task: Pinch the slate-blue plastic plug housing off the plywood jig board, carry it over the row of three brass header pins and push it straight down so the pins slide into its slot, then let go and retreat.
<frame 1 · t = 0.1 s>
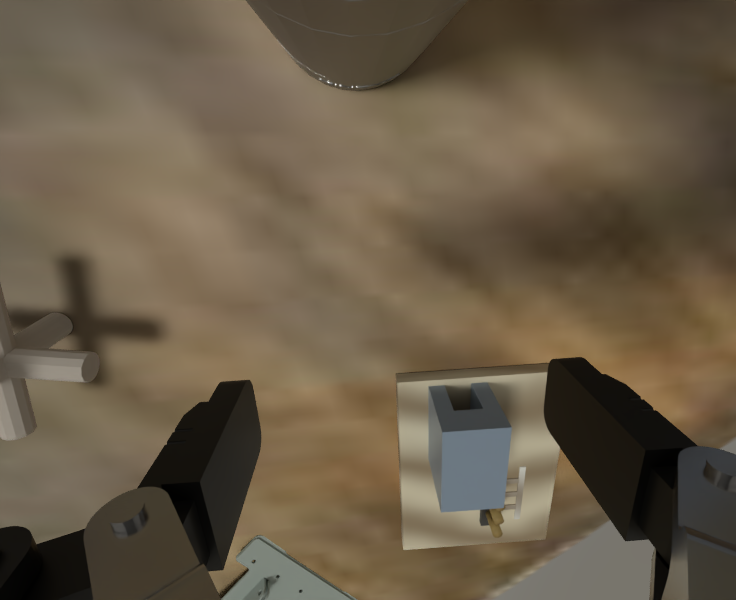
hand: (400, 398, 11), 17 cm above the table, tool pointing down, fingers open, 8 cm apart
plug housing: (456, 422, 31), point 1 cm above the table, touching jig board
grey cross-shaped piece: (60, 322, 29), on the table
metal bracket: (273, 595, 41), on the table
jig board: (475, 458, 34), on the table
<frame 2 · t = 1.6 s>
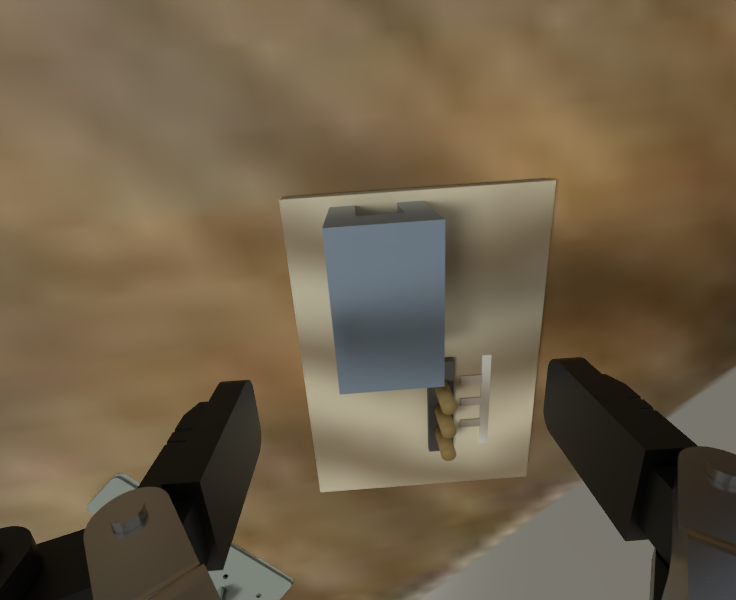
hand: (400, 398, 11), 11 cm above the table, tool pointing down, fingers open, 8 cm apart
plug housing: (380, 274, 20), point 1 cm above the table, touching jig board
metal bracket: (163, 566, 30), on the table
jig board: (417, 348, 23), on the table
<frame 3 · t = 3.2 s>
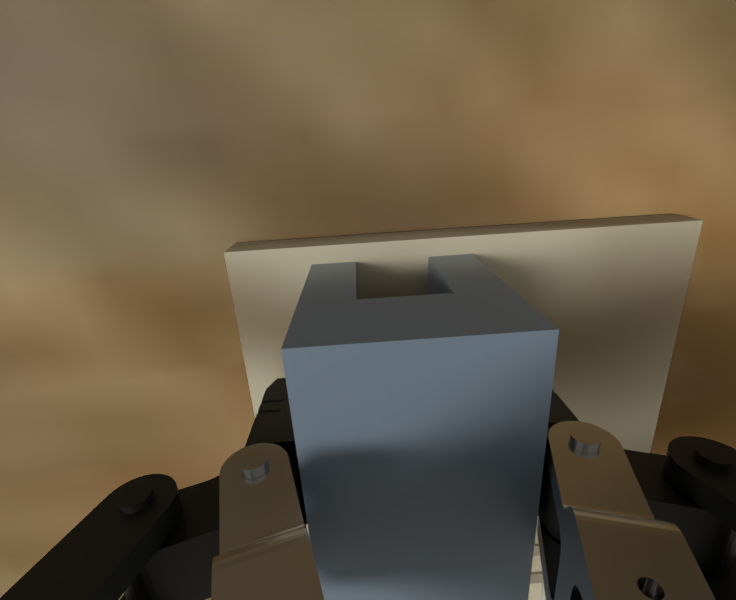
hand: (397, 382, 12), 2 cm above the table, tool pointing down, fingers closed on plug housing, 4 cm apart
plug housing: (396, 370, 12), point 1 cm above the table, touching gripper, jig board
jig board: (451, 467, 15), on the table
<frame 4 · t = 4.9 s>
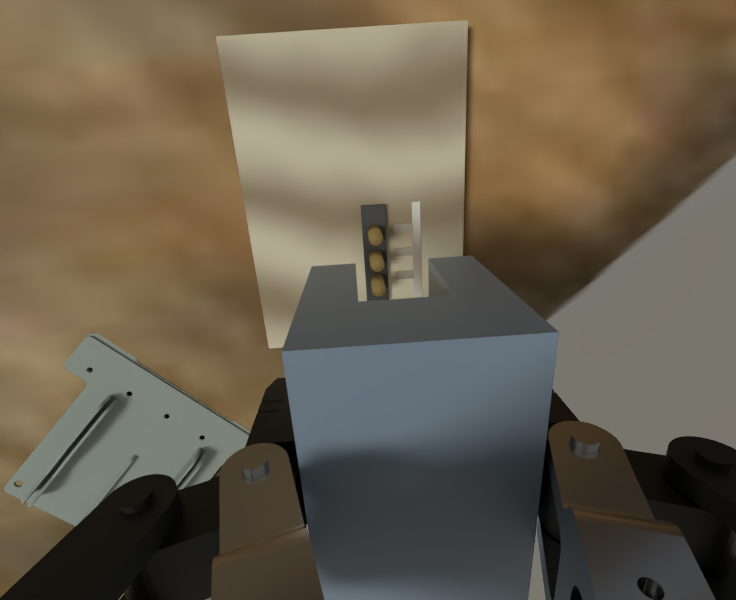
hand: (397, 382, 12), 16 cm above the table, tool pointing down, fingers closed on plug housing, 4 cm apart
plug housing: (396, 372, 12), point 15 cm above the table, touching gripper
metal bracket: (145, 439, 32), on the table
jig board: (355, 203, 25), on the table
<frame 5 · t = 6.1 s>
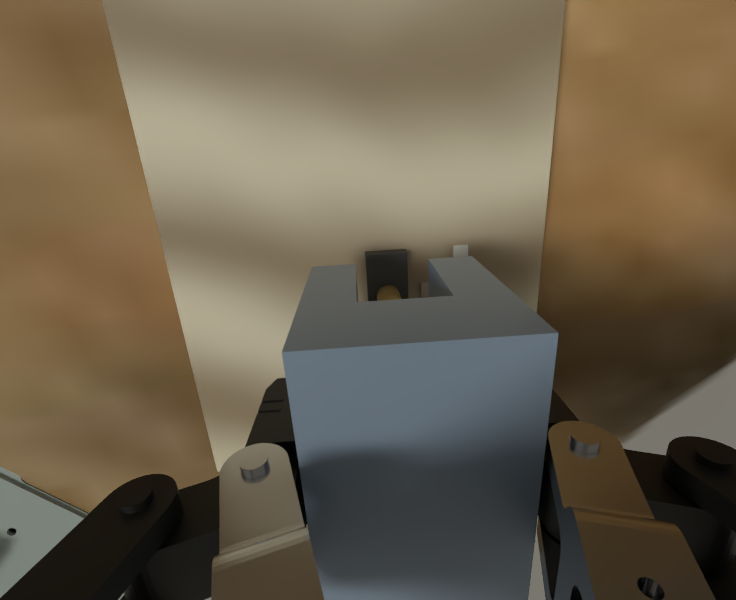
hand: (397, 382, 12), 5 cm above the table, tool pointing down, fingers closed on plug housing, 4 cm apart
plug housing: (396, 372, 12), point 4 cm above the table, touching gripper
metal bracket: (55, 578, 22), on the table
jig board: (355, 244, 15), on the table
when the fingers open (3 cm above the table, at t = 6.8 s): plug housing stays where it is, resting on jig board.
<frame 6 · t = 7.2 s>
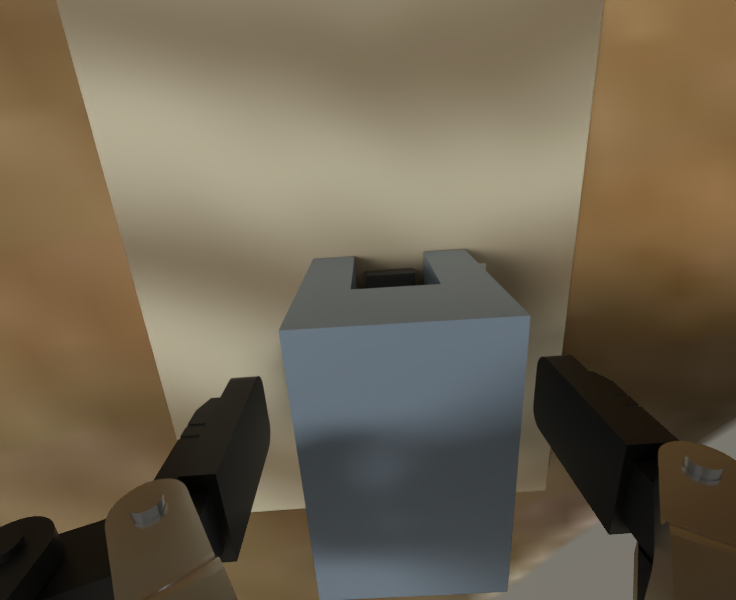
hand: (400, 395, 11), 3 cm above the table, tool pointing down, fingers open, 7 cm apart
plug housing: (393, 360, 13), point 1 cm above the table, touching jig board
jig board: (355, 261, 13), on the table
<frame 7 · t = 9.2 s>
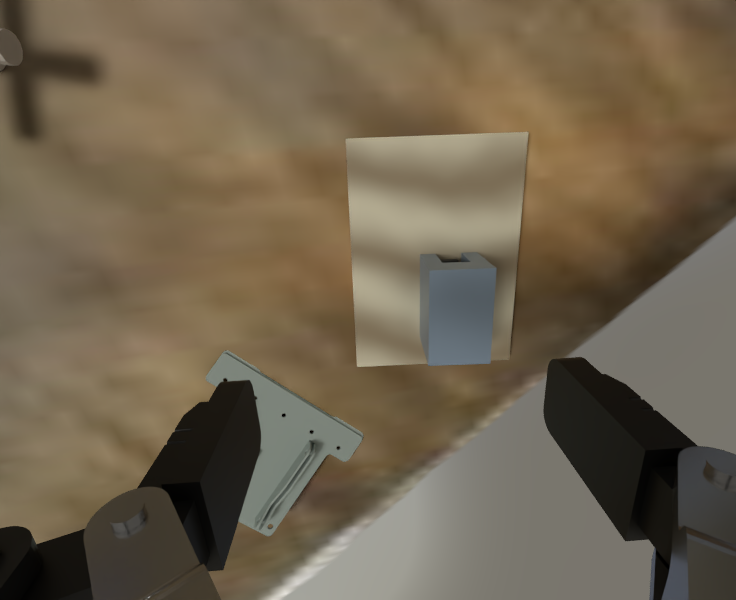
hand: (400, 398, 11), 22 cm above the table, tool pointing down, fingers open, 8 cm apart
plug housing: (447, 296, 32), point 1 cm above the table, touching jig board
metal bracket: (261, 436, 38), on the table
jig board: (432, 256, 33), on the table
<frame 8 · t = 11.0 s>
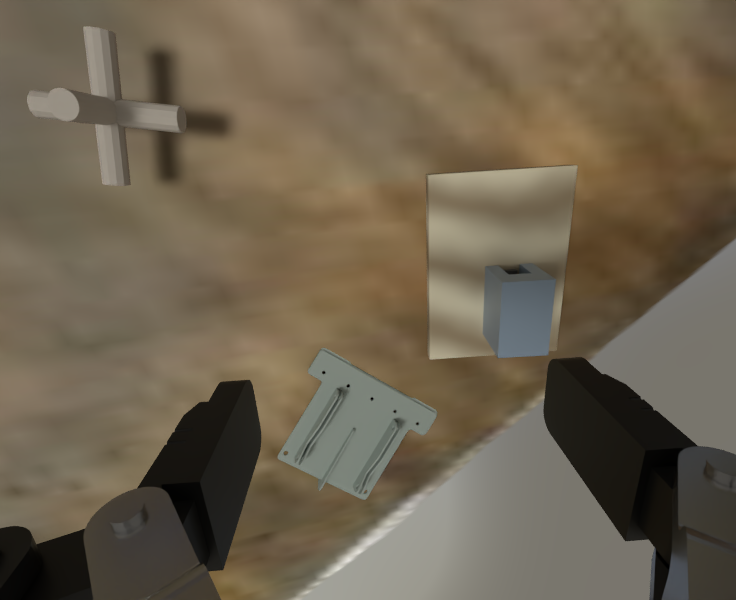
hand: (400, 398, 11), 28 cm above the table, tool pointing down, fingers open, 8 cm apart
plug housing: (506, 299, 39), point 1 cm above the table, touching jig board
grey cross-shaped piece: (145, 117, 34), on the table
metal bracket: (350, 418, 46), on the table
jig board: (493, 266, 39), on the table
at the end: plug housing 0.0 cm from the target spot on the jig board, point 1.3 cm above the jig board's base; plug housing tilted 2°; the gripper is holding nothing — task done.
